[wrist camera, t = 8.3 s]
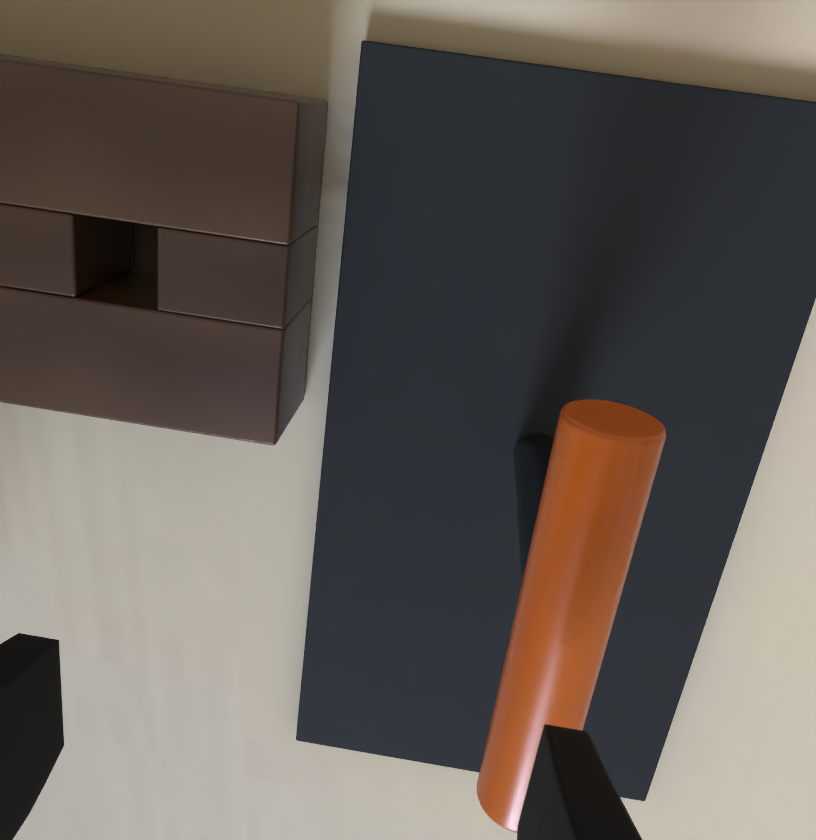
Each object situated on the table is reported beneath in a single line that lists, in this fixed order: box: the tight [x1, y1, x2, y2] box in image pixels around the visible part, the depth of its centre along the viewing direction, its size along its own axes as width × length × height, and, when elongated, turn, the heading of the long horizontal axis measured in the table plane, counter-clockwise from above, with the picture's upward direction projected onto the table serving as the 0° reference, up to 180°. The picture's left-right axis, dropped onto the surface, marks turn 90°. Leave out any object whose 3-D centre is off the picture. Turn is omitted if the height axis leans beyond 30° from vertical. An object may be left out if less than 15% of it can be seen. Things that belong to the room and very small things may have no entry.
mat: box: [296, 40, 816, 801], centre depth 21 cm, size 20×11×1 cm, turn 173°
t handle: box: [477, 399, 666, 832], centre depth 16 cm, size 8×2×8 cm, turn 173°
